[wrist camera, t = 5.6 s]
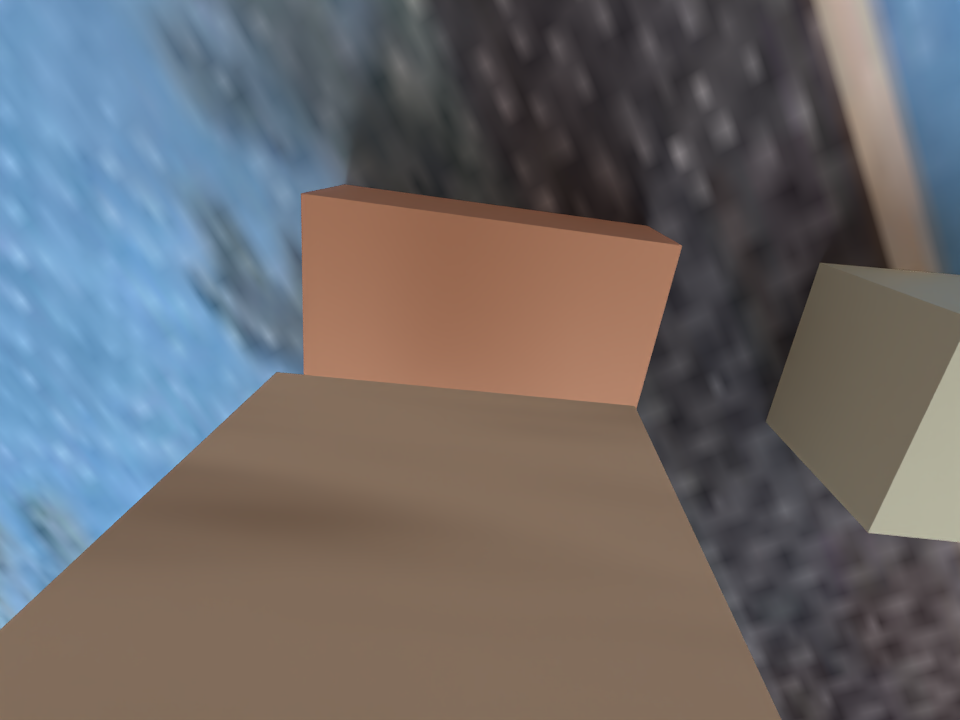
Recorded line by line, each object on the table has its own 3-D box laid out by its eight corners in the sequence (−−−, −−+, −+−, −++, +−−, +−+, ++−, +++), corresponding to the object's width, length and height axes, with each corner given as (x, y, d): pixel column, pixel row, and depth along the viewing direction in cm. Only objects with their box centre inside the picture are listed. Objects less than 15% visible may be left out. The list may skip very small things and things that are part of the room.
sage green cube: (927, 436, 19) (1101, 556, 13) (764, 420, 19) (867, 532, 13) (1005, 278, 16) (1255, 343, 11) (818, 261, 17) (971, 318, 11)
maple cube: (579, 656, 11) (651, 1208, 5) (300, 626, 11) (74, 1125, 5) (634, 406, 8) (875, 922, 3) (276, 372, 8) (-175, 792, 3)
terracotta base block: (583, 472, 21) (598, 542, 17) (343, 438, 21) (305, 501, 17) (644, 224, 17) (681, 245, 13) (347, 183, 17) (300, 193, 13)
